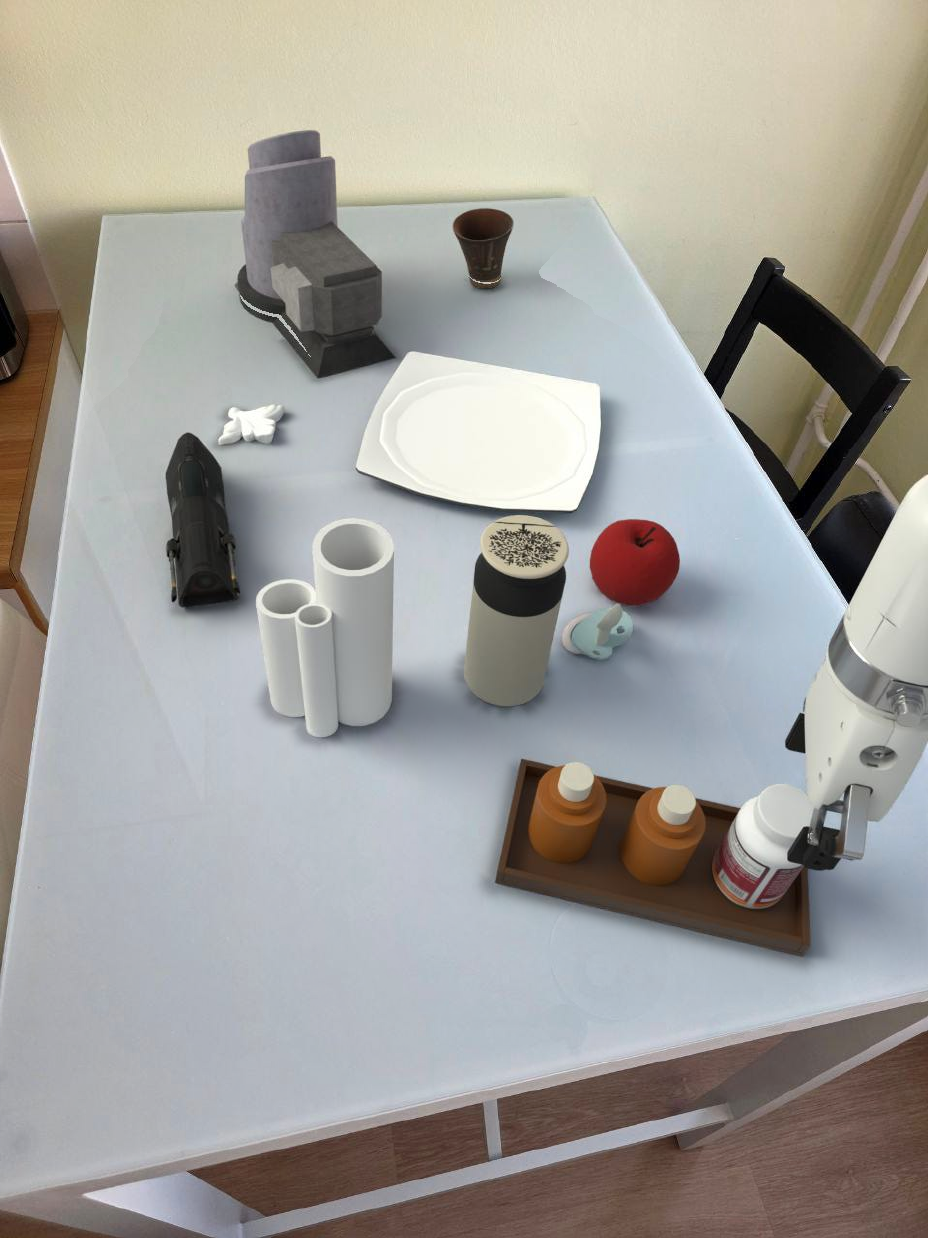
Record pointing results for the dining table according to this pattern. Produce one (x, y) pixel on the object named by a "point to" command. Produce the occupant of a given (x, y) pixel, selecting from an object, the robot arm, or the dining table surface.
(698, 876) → the tray
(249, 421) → the acanthus leaf ornament
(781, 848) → the pill bottle
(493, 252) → the cup
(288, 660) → the vase
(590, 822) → the amber bottle far
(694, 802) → the amber bottle middle
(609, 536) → the apple
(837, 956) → the dining table surface
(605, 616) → the pacifier
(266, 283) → the juicer
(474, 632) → the travel mug
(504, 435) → the plate
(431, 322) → the dining table surface
